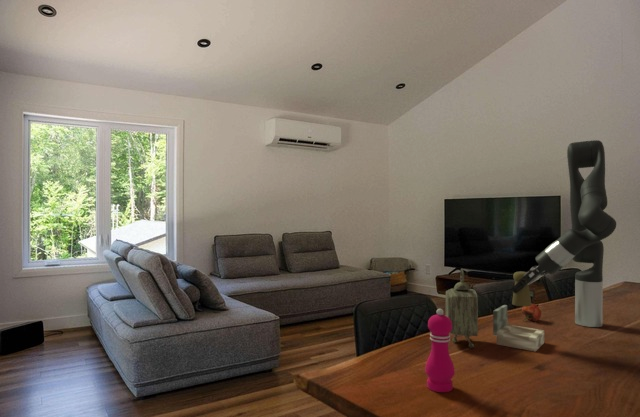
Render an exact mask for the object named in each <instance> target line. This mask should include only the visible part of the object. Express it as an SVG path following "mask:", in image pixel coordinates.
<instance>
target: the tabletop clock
mask: <svg viewBox="0 0 640 417" xmlns="http://www.w3.org/2000/svg"><path fill="white" fill-rule="evenodd" d="M459 271H460V272H459V273H460V274H459V276H460V278H459V280H460V281H459V282H457V283H455V285H454V287H453V288H450V289H449V288H448V290H445V316H447V317H448V318H450V320H451V322H452V330H451V332H450V333H449V334H450V335H451V334H452V335H454V337H452V339H451V340H452V341H451V342H452V343H455V344H456V343H457V342H458V339H457V337H458V336H463V337H464V338H465V339H466V340H467V342H468V347H469V348H470V349H472V348H475V344H474V343H473V342H471V340H470V337H477V336H478V334H479V333H478V331H479V299H478V294H477V291H476V290H475V289H472V288H471V286H470V285H469V283H466V282H465V272H464V271H465V270H464V269H463V268H461V269H459Z"/></svg>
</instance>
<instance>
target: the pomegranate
mask: <svg viewBox="0 0 640 417" xmlns="http://www.w3.org/2000/svg"><path fill="white" fill-rule="evenodd" d="M531 305H532V306H527V307H526V306H522V308H521V310H522V311H521V312H522V314H523V315H524V317H525V318H524V319H523V320H522V322H525V321H526V320H529V321H533V322H537V321H539V320H540V319H541V318H542V311H541V309H540V306H539V303H538V304H536V303H532V302H531Z"/></svg>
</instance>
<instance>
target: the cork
mask: <svg viewBox="0 0 640 417" xmlns="http://www.w3.org/2000/svg"><path fill="white" fill-rule="evenodd" d="M527 272H528V271H521V270H520V271H516V272H514V273H513V275H512V276H513V280H514V286H515V285H516V284H517V283H518V282H519V280H520V279H521V278H522V277H524V275H525V274H526V273H527ZM523 281H524V282H525V283H527V280H526V279H524V280H523ZM530 291H531V290H530V284H528V285H527V286H526V287H524V288H522V289H521V290H520V291H519V292H518V293H514V292H513V294H512V300H511V301H512V302H511V305H513V306H517V307H523V306H526V307H527V306H532V305H531V303H532V300H531V299H532V298H531V292H530Z"/></svg>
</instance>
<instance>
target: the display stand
mask: <svg viewBox="0 0 640 417" xmlns="http://www.w3.org/2000/svg"><path fill="white" fill-rule="evenodd" d="M492 332H493V333H492V334H493V336H496V345H499V346H504V347H510V348H515V349H518V350H519V349H520V350H524V351H525V350H526V351H530V352H535V353H536V352H537V351H538V350H539V349H540V348H541V347H542V346H543V345H544V344H545V330H544V329H537V328H532V327H525V326H519V325H514V324H513V325H512V324H508V305H507V304H503V305H501V306H499V307H498V308H495V309H494V310H493V311H492Z"/></svg>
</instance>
